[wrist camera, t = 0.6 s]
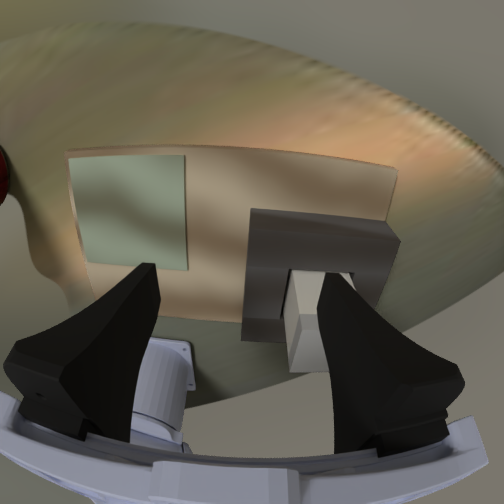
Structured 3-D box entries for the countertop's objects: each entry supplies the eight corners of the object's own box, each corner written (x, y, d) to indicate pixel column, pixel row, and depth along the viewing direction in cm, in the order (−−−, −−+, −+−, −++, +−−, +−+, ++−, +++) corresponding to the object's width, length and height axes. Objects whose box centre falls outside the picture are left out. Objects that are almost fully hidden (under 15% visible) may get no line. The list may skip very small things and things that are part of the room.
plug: (328, 292, 24) (349, 370, 17) (281, 290, 24) (289, 372, 17) (339, 252, 22) (371, 329, 15) (288, 248, 22) (302, 329, 15)
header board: (346, 319, 27) (355, 350, 24) (100, 301, 26) (86, 329, 23) (393, 167, 19) (418, 185, 16) (69, 149, 18) (40, 165, 15)
